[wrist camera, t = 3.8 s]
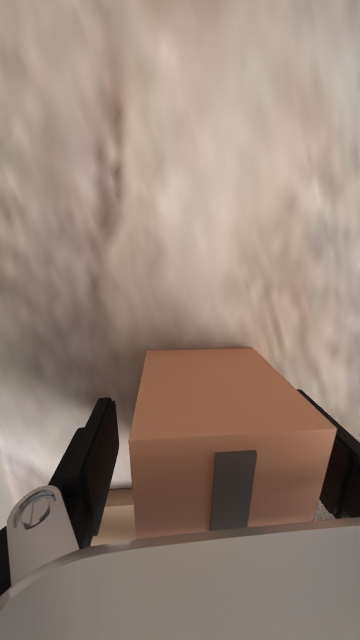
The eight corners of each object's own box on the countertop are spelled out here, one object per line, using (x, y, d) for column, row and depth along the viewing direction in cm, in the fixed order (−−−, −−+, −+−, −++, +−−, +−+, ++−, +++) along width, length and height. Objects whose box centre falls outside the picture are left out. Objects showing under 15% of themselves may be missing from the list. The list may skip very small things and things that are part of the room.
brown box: (146, 349, 11) (127, 444, 5) (251, 347, 12) (340, 431, 6) (150, 437, 13) (138, 584, 7) (242, 432, 13) (305, 566, 7)
